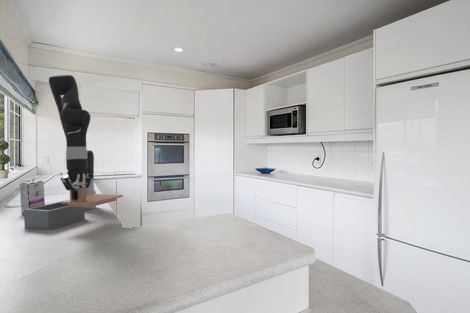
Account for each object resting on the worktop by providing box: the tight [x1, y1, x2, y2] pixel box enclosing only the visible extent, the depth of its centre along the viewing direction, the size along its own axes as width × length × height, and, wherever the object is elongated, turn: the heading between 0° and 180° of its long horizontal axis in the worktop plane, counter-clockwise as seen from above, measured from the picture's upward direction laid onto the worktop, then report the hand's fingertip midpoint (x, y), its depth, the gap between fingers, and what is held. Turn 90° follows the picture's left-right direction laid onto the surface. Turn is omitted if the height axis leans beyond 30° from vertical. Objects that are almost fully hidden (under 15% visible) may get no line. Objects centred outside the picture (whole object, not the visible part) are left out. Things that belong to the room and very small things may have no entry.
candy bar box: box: [19, 180, 46, 215], centre depth 145 cm, size 11×5×16 cm, turn 179°
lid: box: [59, 188, 123, 207], centre depth 115 cm, size 19×15×8 cm
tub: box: [23, 201, 86, 231], centre depth 120 cm, size 18×14×8 cm
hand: (78, 199), depth 108 cm, fingers closed on lid, 2 cm apart
